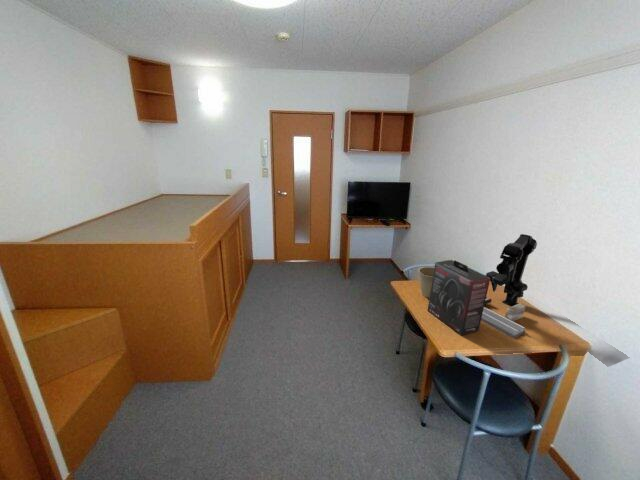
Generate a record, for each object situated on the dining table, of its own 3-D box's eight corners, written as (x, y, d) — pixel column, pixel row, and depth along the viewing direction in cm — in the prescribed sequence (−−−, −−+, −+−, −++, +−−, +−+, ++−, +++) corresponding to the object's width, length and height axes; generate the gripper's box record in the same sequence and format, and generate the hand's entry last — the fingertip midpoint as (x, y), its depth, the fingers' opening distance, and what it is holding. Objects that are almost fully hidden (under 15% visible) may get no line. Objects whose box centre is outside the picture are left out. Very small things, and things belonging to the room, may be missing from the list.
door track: (480, 309, 163) (481, 303, 162) (525, 332, 143) (526, 326, 142) (468, 313, 158) (469, 308, 157) (513, 338, 138) (515, 332, 137)
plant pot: (426, 287, 187) (430, 265, 182) (446, 297, 175) (450, 273, 170) (410, 292, 180) (413, 269, 175) (429, 303, 168) (433, 279, 163)
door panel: (504, 319, 153) (507, 308, 151) (516, 314, 159) (519, 303, 157) (509, 322, 151) (512, 311, 149) (522, 317, 156) (525, 305, 154)
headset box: (426, 310, 161) (434, 255, 150) (443, 306, 165) (453, 253, 155) (460, 336, 139) (473, 274, 129) (480, 331, 143) (493, 271, 133)
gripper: (481, 264, 152) (476, 290, 157) (517, 279, 136) (510, 307, 141) (495, 261, 156) (489, 286, 161) (531, 274, 140) (524, 302, 146)
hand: (502, 295), depth 152 cm, fingers open, 9 cm apart
